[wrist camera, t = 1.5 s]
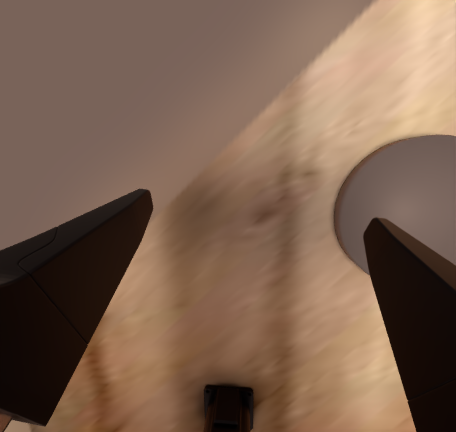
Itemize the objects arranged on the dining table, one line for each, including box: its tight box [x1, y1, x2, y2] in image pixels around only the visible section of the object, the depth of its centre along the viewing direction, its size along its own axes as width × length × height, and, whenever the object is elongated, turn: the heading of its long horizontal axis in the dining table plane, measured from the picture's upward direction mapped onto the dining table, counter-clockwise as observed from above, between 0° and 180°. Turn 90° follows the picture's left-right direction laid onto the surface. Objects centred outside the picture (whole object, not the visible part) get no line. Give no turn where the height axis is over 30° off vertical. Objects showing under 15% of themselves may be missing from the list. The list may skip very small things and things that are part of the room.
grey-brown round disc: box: [334, 135, 456, 275], centre depth 23 cm, size 15×15×2 cm
